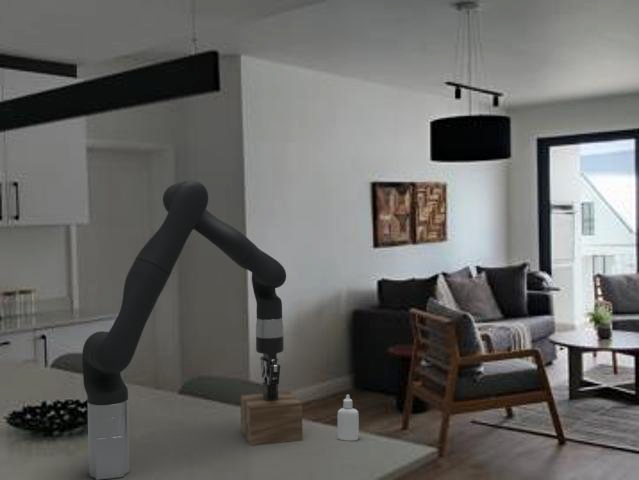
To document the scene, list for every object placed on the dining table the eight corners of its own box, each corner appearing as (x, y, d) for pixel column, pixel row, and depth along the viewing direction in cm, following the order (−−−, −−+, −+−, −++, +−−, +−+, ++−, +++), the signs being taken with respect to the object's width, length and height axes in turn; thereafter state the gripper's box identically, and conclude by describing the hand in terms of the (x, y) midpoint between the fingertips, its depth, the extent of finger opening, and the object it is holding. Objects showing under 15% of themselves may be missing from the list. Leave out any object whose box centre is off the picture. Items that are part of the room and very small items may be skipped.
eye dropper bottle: (346, 435, 200) (345, 391, 200) (361, 439, 196) (361, 395, 196) (335, 438, 197) (334, 394, 197) (350, 443, 193) (349, 398, 193)
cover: (302, 440, 196) (301, 386, 196) (251, 445, 192) (250, 390, 192) (289, 425, 210) (288, 375, 209) (241, 430, 205) (240, 379, 205)
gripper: (289, 337, 194) (290, 402, 195) (276, 329, 208) (277, 390, 208) (261, 339, 192) (262, 404, 193) (250, 331, 205) (251, 392, 206)
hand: (270, 396), depth 200 cm, fingers closed on cover, 3 cm apart
